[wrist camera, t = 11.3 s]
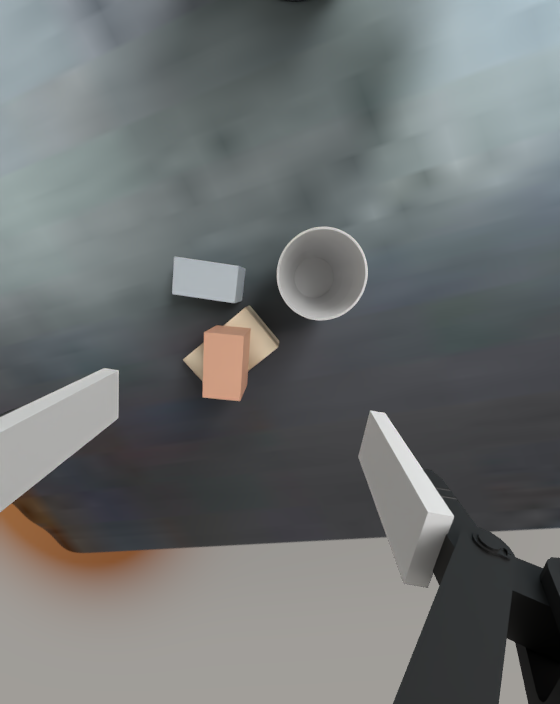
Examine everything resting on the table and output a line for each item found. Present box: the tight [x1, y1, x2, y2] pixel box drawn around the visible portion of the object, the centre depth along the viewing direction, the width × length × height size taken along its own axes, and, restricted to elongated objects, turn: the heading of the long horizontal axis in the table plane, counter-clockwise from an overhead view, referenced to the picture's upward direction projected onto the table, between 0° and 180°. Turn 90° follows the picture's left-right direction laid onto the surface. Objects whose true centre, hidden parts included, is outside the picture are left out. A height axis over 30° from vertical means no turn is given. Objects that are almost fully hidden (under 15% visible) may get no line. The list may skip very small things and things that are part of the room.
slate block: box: [172, 256, 246, 303], centre depth 34 cm, size 7×4×5 cm, turn 82°
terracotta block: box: [203, 325, 251, 401], centre depth 32 cm, size 7×4×5 cm, turn 175°
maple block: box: [183, 305, 279, 382], centre depth 36 cm, size 10×6×4 cm, turn 129°
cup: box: [277, 227, 368, 320], centre depth 31 cm, size 8×8×10 cm
